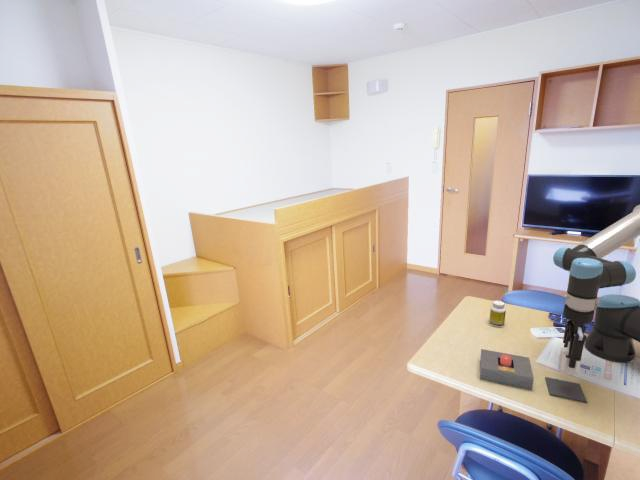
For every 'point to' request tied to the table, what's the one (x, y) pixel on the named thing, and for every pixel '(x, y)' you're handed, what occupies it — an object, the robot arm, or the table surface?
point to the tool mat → (565, 389)
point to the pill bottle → (497, 314)
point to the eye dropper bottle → (563, 360)
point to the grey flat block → (506, 370)
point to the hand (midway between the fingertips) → (567, 370)
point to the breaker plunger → (505, 360)
